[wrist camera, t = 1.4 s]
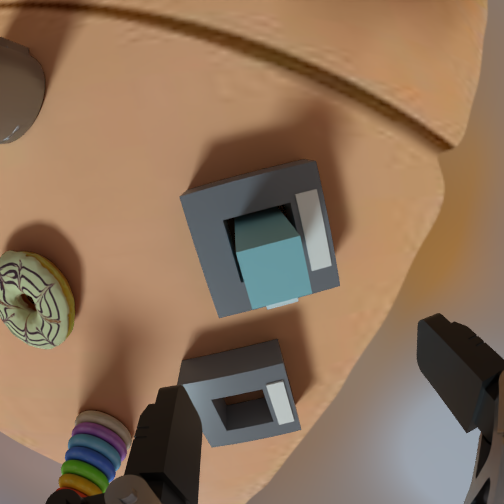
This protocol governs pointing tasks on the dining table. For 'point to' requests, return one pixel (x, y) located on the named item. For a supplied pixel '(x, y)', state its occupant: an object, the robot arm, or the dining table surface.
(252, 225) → the plug
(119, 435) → the stacking toy
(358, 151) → the dining table surface
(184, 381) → the far socket block
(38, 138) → the dining table surface
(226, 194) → the near socket block
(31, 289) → the decorated donut
